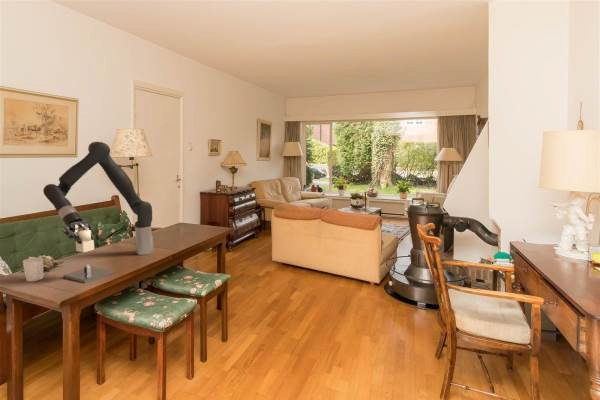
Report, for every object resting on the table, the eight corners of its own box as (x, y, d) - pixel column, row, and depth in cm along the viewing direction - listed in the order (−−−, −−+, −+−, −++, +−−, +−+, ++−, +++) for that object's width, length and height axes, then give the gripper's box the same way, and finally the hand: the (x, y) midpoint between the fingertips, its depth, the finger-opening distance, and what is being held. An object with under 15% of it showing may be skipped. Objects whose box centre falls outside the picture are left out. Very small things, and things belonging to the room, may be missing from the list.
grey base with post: (90, 269, 182) (89, 258, 181) (111, 273, 176) (110, 262, 175) (63, 277, 169) (62, 266, 168) (85, 282, 163) (84, 270, 162)
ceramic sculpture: (34, 251, 185) (64, 251, 187) (34, 266, 186) (64, 266, 188) (21, 256, 174) (53, 257, 177) (22, 273, 175) (54, 273, 178)
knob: (87, 248, 174) (85, 228, 173) (94, 249, 172) (93, 229, 171) (76, 250, 169) (74, 230, 168) (83, 252, 167) (82, 231, 166)
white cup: (28, 277, 169) (26, 258, 168) (47, 275, 172) (45, 256, 171) (21, 282, 162) (19, 262, 161) (41, 281, 165) (39, 261, 163)
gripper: (58, 213, 165) (76, 240, 161) (86, 209, 178) (103, 234, 174) (52, 223, 167) (69, 249, 164) (81, 218, 180) (97, 242, 177)
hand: (87, 241), depth 169 cm, fingers closed on knob, 5 cm apart
